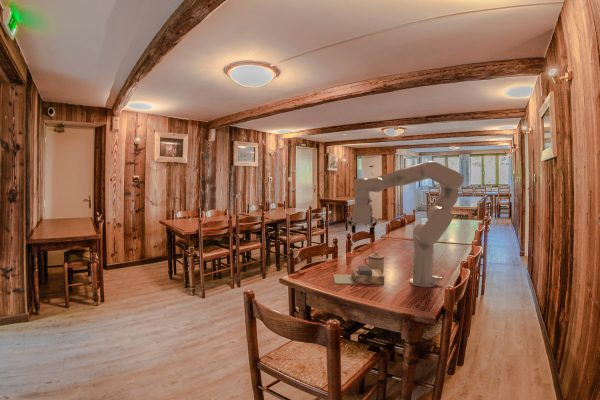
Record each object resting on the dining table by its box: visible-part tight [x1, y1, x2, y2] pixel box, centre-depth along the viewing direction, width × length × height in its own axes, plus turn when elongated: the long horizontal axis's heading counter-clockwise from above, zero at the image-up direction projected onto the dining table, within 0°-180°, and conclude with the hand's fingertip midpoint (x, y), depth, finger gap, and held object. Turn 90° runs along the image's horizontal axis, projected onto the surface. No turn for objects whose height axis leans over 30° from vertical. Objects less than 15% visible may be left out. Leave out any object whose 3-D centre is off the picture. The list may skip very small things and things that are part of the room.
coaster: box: [357, 265, 372, 275], centre depth 169 cm, size 6×9×2 cm, turn 178°
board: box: [351, 268, 385, 285], centre depth 169 cm, size 15×13×4 cm
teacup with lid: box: [363, 251, 385, 273], centre depth 186 cm, size 12×9×12 cm
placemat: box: [332, 273, 355, 285], centre depth 170 cm, size 10×15×1 cm, turn 178°
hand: (362, 234), depth 166 cm, fingers open, 9 cm apart
